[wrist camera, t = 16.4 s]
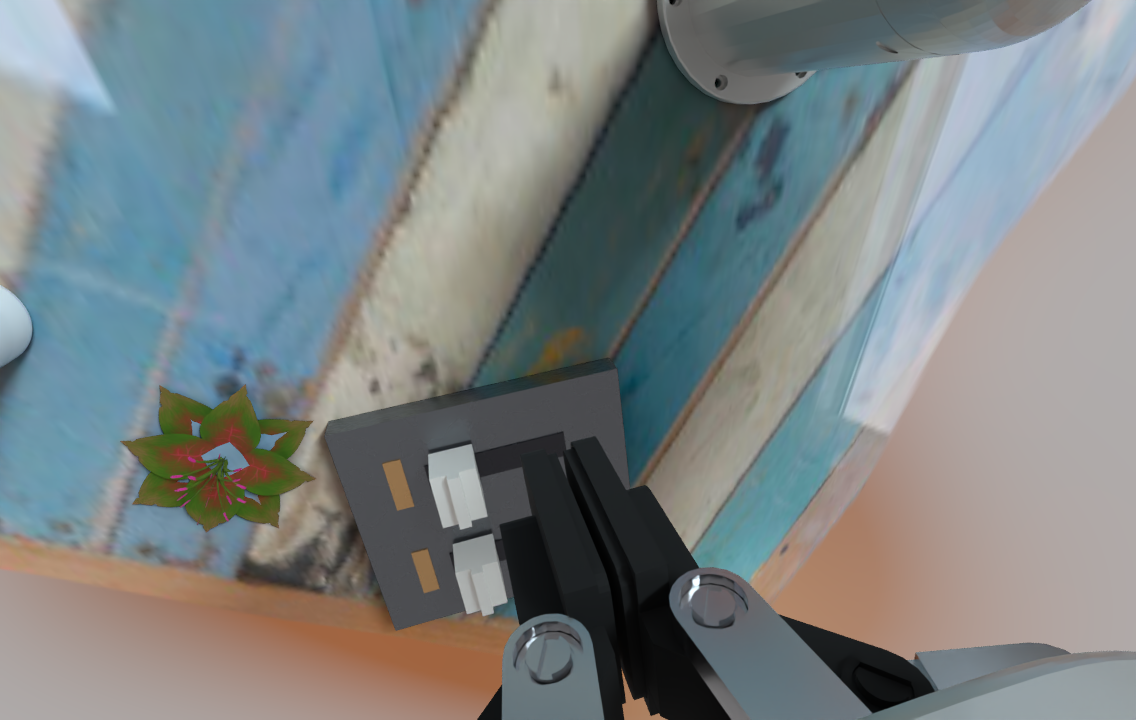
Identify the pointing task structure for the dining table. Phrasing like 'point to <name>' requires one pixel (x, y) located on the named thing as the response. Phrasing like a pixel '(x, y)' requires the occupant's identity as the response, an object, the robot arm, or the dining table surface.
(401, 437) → the breaker panel
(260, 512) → the lily flower
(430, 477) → the breaker
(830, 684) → the robot arm
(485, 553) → the block
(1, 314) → the drinking glass
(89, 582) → the dining table surface
